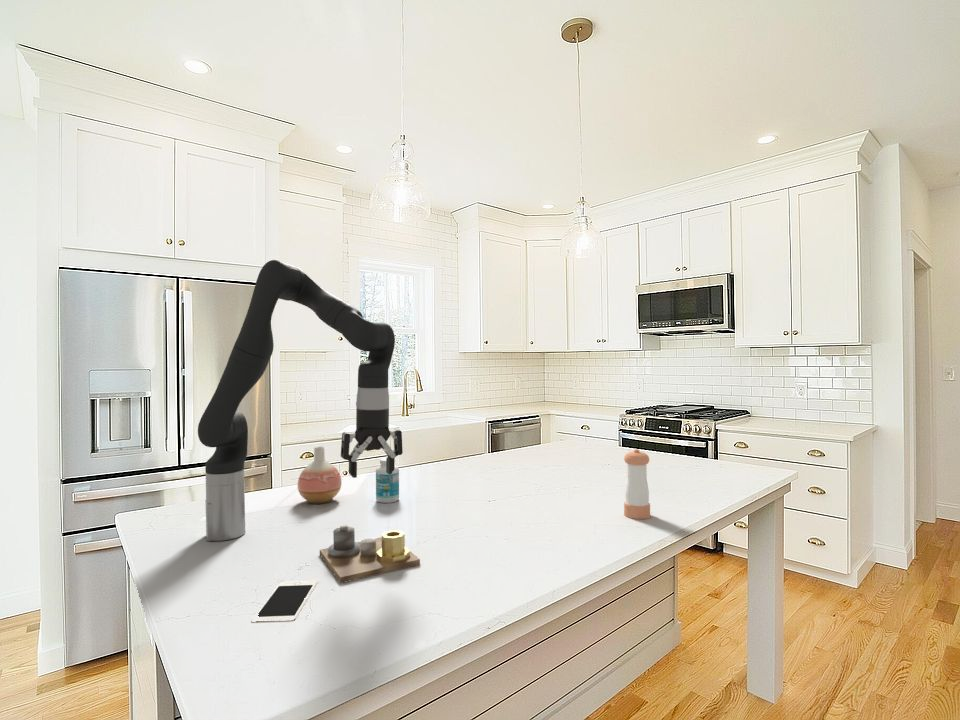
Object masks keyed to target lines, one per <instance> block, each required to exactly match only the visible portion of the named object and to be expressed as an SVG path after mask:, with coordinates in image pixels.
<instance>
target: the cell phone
mask: <svg viewBox="0 0 960 720" xmlns="http://www.w3.org/2000/svg"><path fill="white" fill-rule="evenodd" d="M317 582H318V580H303V581H301V580H299V581H281V582H279V583H278V584H277V586H276V587H274V590H273V591H272V593H270V595H269V596H268V597H267V599H266V600H265V601H264V603H263V604H262V605H261V607H260V609H259V610H258V611H257V612H256V613H257V614H259V615H258V616H259V618H260V619H261V620H263V621H264V620H268V621H269V620H271V621H272V620H273V621H274V620H278V619H279V620H283V619H285V618H287V620H289V619H293V618H294V617H295V618H296V616H297V615H298V613H299V612H300V613H301V611H300V609H301V608H302V607H303V608H304V606H305V604H306V603H305V602H307V601H308V599H306V597H307V596H308V595H310V596H311V594H312V593H313V591H314V589H315V588H316V586H317V584H318V583H317ZM315 585H316V586H315ZM314 587H315V588H314ZM313 588H314V589H313ZM312 590H313V591H312ZM311 592H312V593H311ZM310 593H311V594H310ZM304 598H305V599H304ZM306 600H307V601H306ZM304 603H305V604H304ZM303 605H304V606H303ZM303 608H302V609H303ZM302 609H301V610H302ZM300 613H299V614H300ZM286 616H287V617H286ZM288 616H289V617H288ZM298 616H299V615H298ZM298 616H297V617H298ZM278 617H279V618H278ZM284 617H285V618H284ZM290 617H291V618H290ZM292 617H293V618H292ZM288 618H289V619H288ZM295 618H294V619H295ZM296 619H297V618H296ZM285 620H286V619H285Z"/></svg>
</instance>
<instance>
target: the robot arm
mask: <svg viewBox="0 0 960 720" xmlns="http://www.w3.org/2000/svg"><path fill="white" fill-rule="evenodd" d="M279 300H283V301H291V302H294V303H297V304H299V305H302V306H305V307H306V308H308V309H310V310H311V311H313V312H314V314H315V315H316V316H317V317H318V319H320V320H321V321H322V322H323V323H324V324H326V325H327V326H328V327H330V328H332V329H334V331H336V332H338V333H340V334H342V337H344V338H345V340H347V342H348V343H349V344H351V346H353V347H354V348H356V349H357V350H360V351H363V352H368V356H367V359H366V361H364V362H362V363H360V364H359V366H358V368H357V369H358V370H357V372H358V373H357V391H356V392H357V393H356V402H355V407H356V408H355V409H356V411H355V412H356V414H355V416H356V417H355V421H356V423H355V432H352V433H351V432H346V431H344V432H342V433H341V442H340V443H341V447H340V457H341V458H342V459H343V460H346V461H348V473H349V475H350V476H351V478H354V479H356V478H357V477H358V461H357V460H358V459H359V457H360V456H361V455H362V454H363V452H365V451H372V450H373V451H374V450H377V451H379V450H383V451H384V453H385V455H387V456H386V457H385V458H386V472H387V473H388V474H392V471H394V465H395V463H394V459H395V458H397V457H398V456H401V455H402V454H403V452H404V451H403V432H402V430H401V429H398V428H394V429H393V430H390V429H389V427H390V394H389V393H390V392H389V368H390V365H391V363H392V362H391V361H392V358H393V354H394V350H395V345H396V337H395V333H394V329H393V328H392V326H391V325H390V324H388V323H386V322H382V321H370V320H368V319H365V318H364V316H363V314H362V312H361V311H360V310H358V309H357V308H356V307H354V306H353V305H352V304H349V303H348V302H346V301H344V300H343V299H341V298H339V297H337V296H335V295H334V294H332V293H330V292H329V291H327V290H326V289H325V288H322V286H321V285H319V284H318V283H316V282H315V281H314V279H312V278H311V276H309V275H308V274H307V273H306V272H304V271H303V269H301V268H300V267H297V266H295V265H292V264H290V263H286V262H284V261H280V260H276V259H272V260H269V261H267V262H266V263H265V264H264V265H262V267H261V269H260V271H259V273H258V275H257V278H256V282H255V285H254V289H253V292H252V296H251V299H250V302H249V307H248V309H247V311H246V314H245V317H244V320H243V323H242V326H241V328H240V331H239V333H238V335H237V337H236V341H234V344H233V347H232V350H231V352H230V355H229V356H228V359H227V360H228V361H227V364H226V365H225V368H224V371H223V372H222V375H221V377H220V378H219V379H220V380H219V382H218V384H217V387H216V389H215V391H214V393H213V395H212V397H211V399H210V401H208V402H209V403H208V404H207V406H206V407H205V409H204V412H203V413H202V415H201V418H200V420H199V422H198V425H197V436H198V440H199V442H201V445H203V446H205V447H207V448H215V451H214V452H213V454H212V456H210V458H209V459H207V460H206V462H205V467H204V469H205V536H206V541H207V542H212V541H214V542H218V541H219V542H221V541H228V540H234V539H236V538H239V537H242V536H243V535H244V534H245V533H246V505H245V504H246V502H245V501H246V499H245V498H246V496H245V462H246V459H247V456H248V441H249V439H248V438H249V428H248V421H247V418H246V416H245V415H244V413H243V412H241V411H240V410H238V408H239V407H240V404H241V402H242V401H243V399H244V398H245V397H246V396H247V394H248V393H249V392H251V390H252V389H253V388H254V386H255V385H256V384H257V382H259V381H260V379H261V378H262V377H263V375H264V373H265V371H266V369H267V367H268V365H269V362H270V360H271V357H272V355H273V351H274V347H275V346H274V337H273V330H272V317H273V314H274V311H275V307H276V305H277V303H278V302H279ZM390 437H391V438H392V440H393V450H392V447H390V445H389V444H388V440H389V438H390ZM354 439H355V441H356V442H357V443H356V444H355V445H354V447H353V449H352V451H351V452H350V445H351V443H352V442H353V440H354Z"/></svg>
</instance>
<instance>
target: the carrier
mask: <svg viewBox="0 0 960 720" xmlns="http://www.w3.org/2000/svg"><path fill="white" fill-rule="evenodd" d="M332 531H333V532H332V533H333V534H332V535H333V538H332V539H333V544H331V545H330V546H328V547H326V548H321V549H319V556H320V555H321V556H322V557H321V556H320V557H321V558H322V560H323V559H324V560H323V561H324V563H325V562H326V563H325V564H326V565H327V567H328V566H329V567H328V568H329V569H330V570H332V571H331V572H332V574H333V575H334V574H335V575H334V576H335V578H336V577H337V578H336V579H337V580H338V582H339V581H340V582H339V583H340V584H342V583H341V582H343V583H346V582H345V581H347V582H350V581H349V580H352V581H354V580H355V579H356V580H360V579H363V578H368V577H372V576H376V575H377V576H378V575H380V574H381V575H383V574H384V573H385V574H386V573H389V572H390V573H391V572H395V571H398V570H402V569H407V568H411V567H415V566H419V565H421V559H420V558H419V557H418V555H415V554H414V553H413V552H412V551H411V550H410V556H409V557H408V558H407V559H406V560H405V561H401V562H396V563H385V562H380V561H379V560H378V559H377V552H378V551H379V550H380V549H381V548H382V537H378V538H366V539H363V540H361V541H357V542H356V541H355V538H356V537H355V528H354V527H353V526H349V525H340V527H337V528H335V529H333V530H332ZM359 578H360V579H359Z"/></svg>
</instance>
